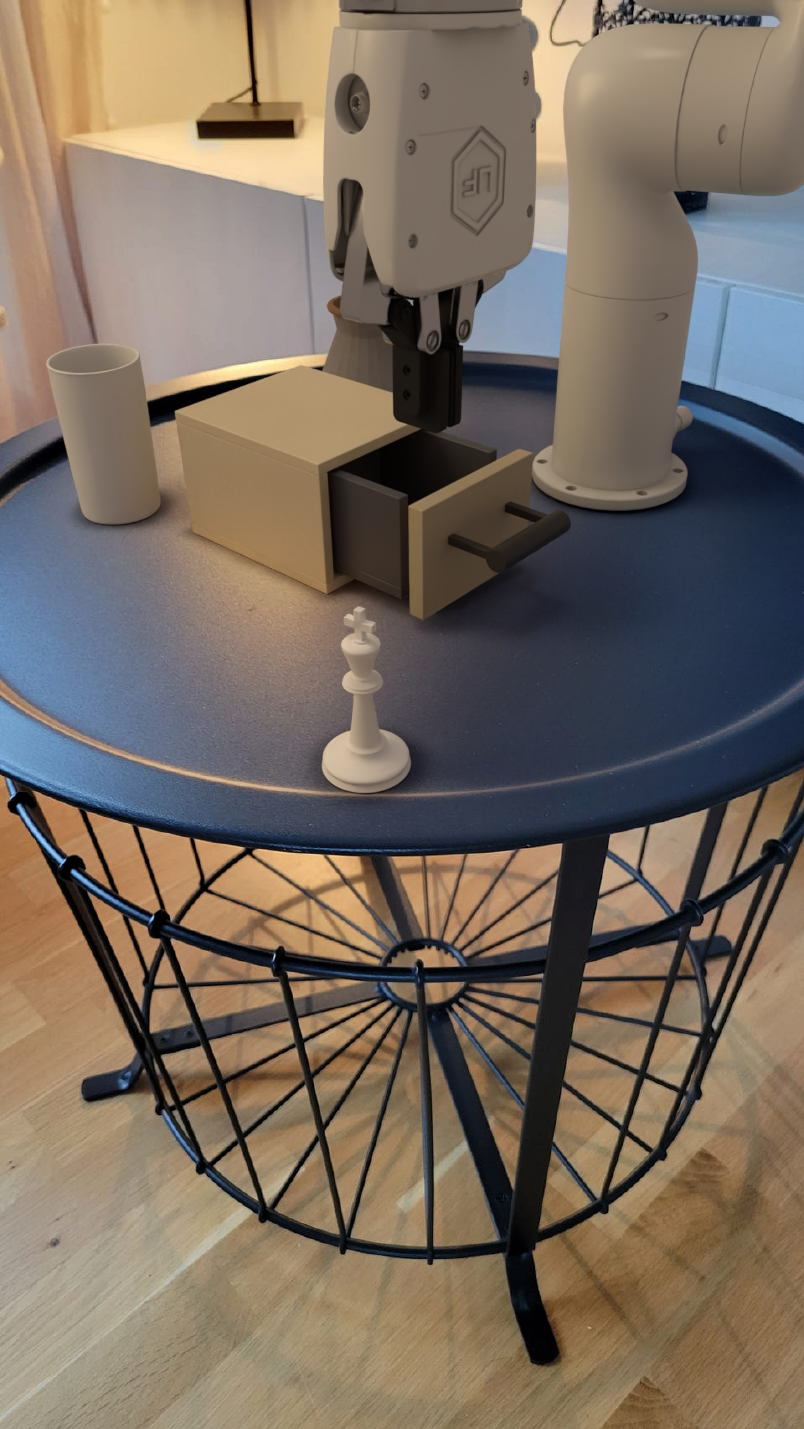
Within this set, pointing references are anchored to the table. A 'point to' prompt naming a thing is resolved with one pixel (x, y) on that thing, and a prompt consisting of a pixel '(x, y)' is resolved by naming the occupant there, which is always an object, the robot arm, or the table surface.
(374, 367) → the coffee pot
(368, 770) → the chess piece
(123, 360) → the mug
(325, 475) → the cabinet
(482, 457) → the drawer
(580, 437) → the robot arm
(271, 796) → the table surface
